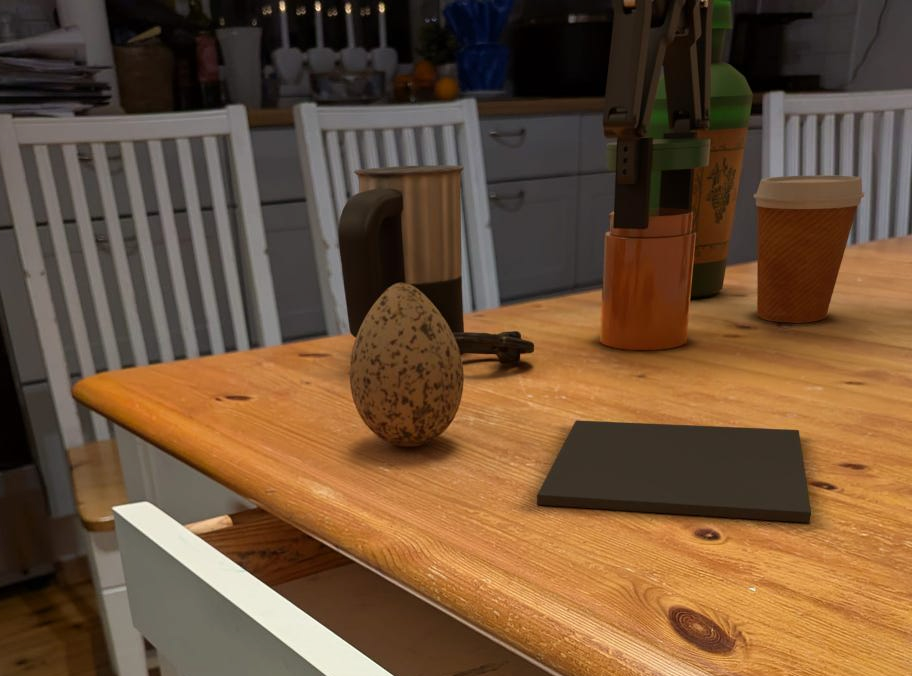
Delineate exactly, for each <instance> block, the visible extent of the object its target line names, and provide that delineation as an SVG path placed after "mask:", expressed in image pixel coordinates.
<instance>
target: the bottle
mask: <svg viewBox="0 0 912 676" xmlns="http://www.w3.org/2000/svg"><path fill="white" fill-rule="evenodd" d="M733 26H734V25H733V15H732V3H731V0H714V6H713V13H712V43H711V91H710V117H709V118H710V125H709V128H708V130H695V132H697V138H706V139H711V142H710V154H709V165H708V166H705V167H700V168H695V169H694V182H693V195H692V207H691V210H692V211H693V218H694V220H692V230H694V231H695V232H696V241H695V252H694V263H693V274H692V285H691V297H690V300H691V299H692V300H693V299H695V300H696V299H701V298H703V299H704V298H709V297H711V296H713V295H715V294H716V293H718V292H720V291H722V290H723V287H724V281H725V275H726V269H727V263H728V255H729V249H730V243H731V237H732V232H733V224H734V219H735V213H736V206H737V199H738V194H739V186H740V181H741V174H742V167H743V161H744V155H745V150H746V149H745V148H746V142H747V136H748V131H749V130H748V129H749V125H750V124H749V123H750V118H751V117H750V116H751V112H752V111H751V110H752V105H753V98H754V94H753V92H752V89H751V87H750V85H749V82H748V80H747V78H746V77H745V75H743V73H741V72H740V71H739V70H738V69H736V68H735V67H734V66H732V65H731V64H730V63H726V62H724V61H722V59H723V53H724V49H725V43H726V42H725V41H726V37H727V31H728V30H732V29H733V28H734V27H733ZM670 132H674V131H670V129H669V121H668V111H667V101H666V91H665V81H664V73H663V74H662V75H660V78H659V82H658V87H657V91H656V96H655V101H654V105H653V110H652V114H651V119H650V123H649V128H648V132H647V135H646V137H643V138H648V137H653V140H656V139H663V133H670ZM660 181H661V170H660V171H651V184H650V201H649V208H659V197H660Z"/></svg>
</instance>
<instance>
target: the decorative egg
mask: <svg viewBox="0 0 912 676" xmlns="http://www.w3.org/2000/svg"><path fill="white" fill-rule="evenodd" d="M352 345H353V346H352V348H351V349H352V350H351V353H350V361H349V386H350V392H351V397H352V400H353V403H354V406H355V408H356V411H357V413H358V415H359V417H360V419H361V420H362V421H363V423H364V424H365V426H367V428H368V429H369V430H370V431H371V432H372V433H373V434H375V435H376V436H377V437H378V438H379V439H381V440H383V441H385V442H386V443H389V444H391V445H394V446H399V447H406V448H412V447H413V448H414V447H419V446H422V445H423V446H424V445H426V444H428V443H431V442H432V441H434V440H436V439H437V438H438V437H440V436H441V435H442V434H444V432H445V431H446V430H447V429H448V428H449V427H450V425H451V424H452V422H453V421H454V419H455V417H456V415H457V413H458V411H459V408H460V405H461V401H462V398H463V392H464V384H465V383H464V379H465V376H464V367H463V360H462V356H461V352H459V348H458V345H457V342H456V340H455V337H454V335H453V333H452V331H451V329H450V327H449V325H448V324H447V322H446V321H445V319H444V317H443V316H442V315H441V313H440V312H439V311H438V309H437V308H436V307H435V306H434V305H433V303H432V302H431V301H430V300H429V299H428V298H427V297H426V296H425V295H424V294H423V293H422V292H421V291H419V290H418V289H417V288H416V287H414V286H412V285H410V284H407V283H402V282H401V283H396V284H394V285H392V286H391V287H389V288H388V289H387V290H386V291H385V292H384V293H383V294H382V295H381V296H380V297H379V298H378V300H377V301H376V302H375V303H374V305H373V306H372V308H371V309H370V311H369V312H368V314H367V316H366V317H365V319H364V321H363V323H362V325H361V327H360V329H359V332H358V334H357V336H356V338H355V340H354V343H353V344H352Z"/></svg>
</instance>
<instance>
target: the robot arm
mask: <svg viewBox="0 0 912 676" xmlns="http://www.w3.org/2000/svg"><path fill="white" fill-rule="evenodd" d="M713 6H714V0H613V11H614V12H613V20H612V21H613V23H612V31H611V40H610V49H609V60H608V69H607V75H606V76H607V77H606V85H605V94H604V104H603V113H602V127H603V135H604V138H605V139H616V142H617V151H616V171H615V175H614V176H615V177H614V201H613V203H614V204H613V212H614V223H613V228H617V229H646V228H648V218H649V201H650V184H651V166H652V149H653V137H648V138H644V137H646V135H647V132H648V128H649V123H650V119H651V114H652V110H653V105H654V101H655V96H656V91H657V87H658V82H659V78H660V77H661V73H662V69H663V74H664V81H665V91H666V101H667V111H668V121H669V129H670V131H674V132H670V133H663V139H684V138H697V132H695V130H708V128H709V125H710V118H709V117H710V91H711V43H712V13H713ZM694 169H695V168H691V169H678V170H661V181H660V197H659V208H679V209H688V210H691V207H692V195H693V182H694Z"/></svg>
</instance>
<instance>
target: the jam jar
mask: <svg viewBox="0 0 912 676" xmlns="http://www.w3.org/2000/svg"><path fill="white" fill-rule="evenodd" d="M608 217H609V218H610V219H609V231H606V232H605V233H604V245H603V263H602V264H603V265H602V285H601V286H602V287H601V289H602V290H601V310H600V328H599V329H600V333H599V341H600V343H601V344H602V345H603V346H606V347H610V348H614V349H619V350H625V351H660V350H668V349H673V348H677V347H681V346H684V345H685V344H686V343H687V339H688V330H689V329H688V327H689V319H690V318H689V317H690V306H691V299H690V297H691V285H692V274H693V263H694V252H695V241H696V232H695V231H694V230H692V220H694V218H693V211H692V210H688V209H679V208H649V218H648V228H646V229H617V228H613V223H614V211H611V212H610V213H609V214H608Z"/></svg>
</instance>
